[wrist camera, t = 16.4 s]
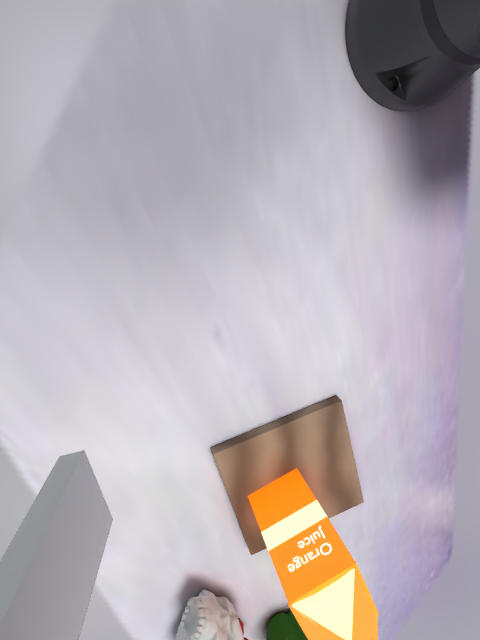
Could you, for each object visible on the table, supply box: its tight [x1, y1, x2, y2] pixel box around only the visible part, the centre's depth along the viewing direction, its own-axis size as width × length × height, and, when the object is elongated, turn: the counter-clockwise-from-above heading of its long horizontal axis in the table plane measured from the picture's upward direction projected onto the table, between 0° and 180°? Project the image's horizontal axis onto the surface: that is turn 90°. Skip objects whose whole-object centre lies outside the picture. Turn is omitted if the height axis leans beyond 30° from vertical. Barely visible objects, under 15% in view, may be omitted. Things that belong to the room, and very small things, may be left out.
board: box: [211, 395, 364, 555], centre depth 51 cm, size 18×18×2 cm
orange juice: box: [248, 468, 378, 640], centre depth 41 cm, size 8×9×20 cm
